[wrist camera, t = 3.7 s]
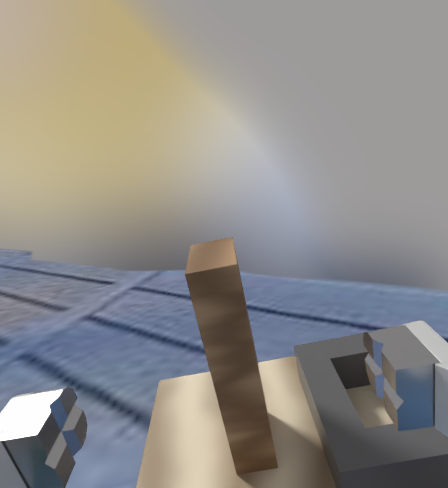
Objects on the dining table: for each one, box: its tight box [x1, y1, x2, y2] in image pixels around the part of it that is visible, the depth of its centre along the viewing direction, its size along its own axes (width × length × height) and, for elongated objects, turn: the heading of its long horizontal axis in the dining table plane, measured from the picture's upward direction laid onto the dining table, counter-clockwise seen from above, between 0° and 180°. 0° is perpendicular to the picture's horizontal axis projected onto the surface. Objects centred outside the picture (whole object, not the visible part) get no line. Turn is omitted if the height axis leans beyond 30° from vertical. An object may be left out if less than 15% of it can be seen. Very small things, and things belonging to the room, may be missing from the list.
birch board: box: [136, 356, 393, 488], centre depth 27 cm, size 28×18×1 cm, turn 92°
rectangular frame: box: [294, 333, 448, 488], centre depth 26 cm, size 10×12×4 cm
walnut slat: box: [185, 237, 278, 475], centre depth 24 cm, size 3×5×16 cm, turn 2°
